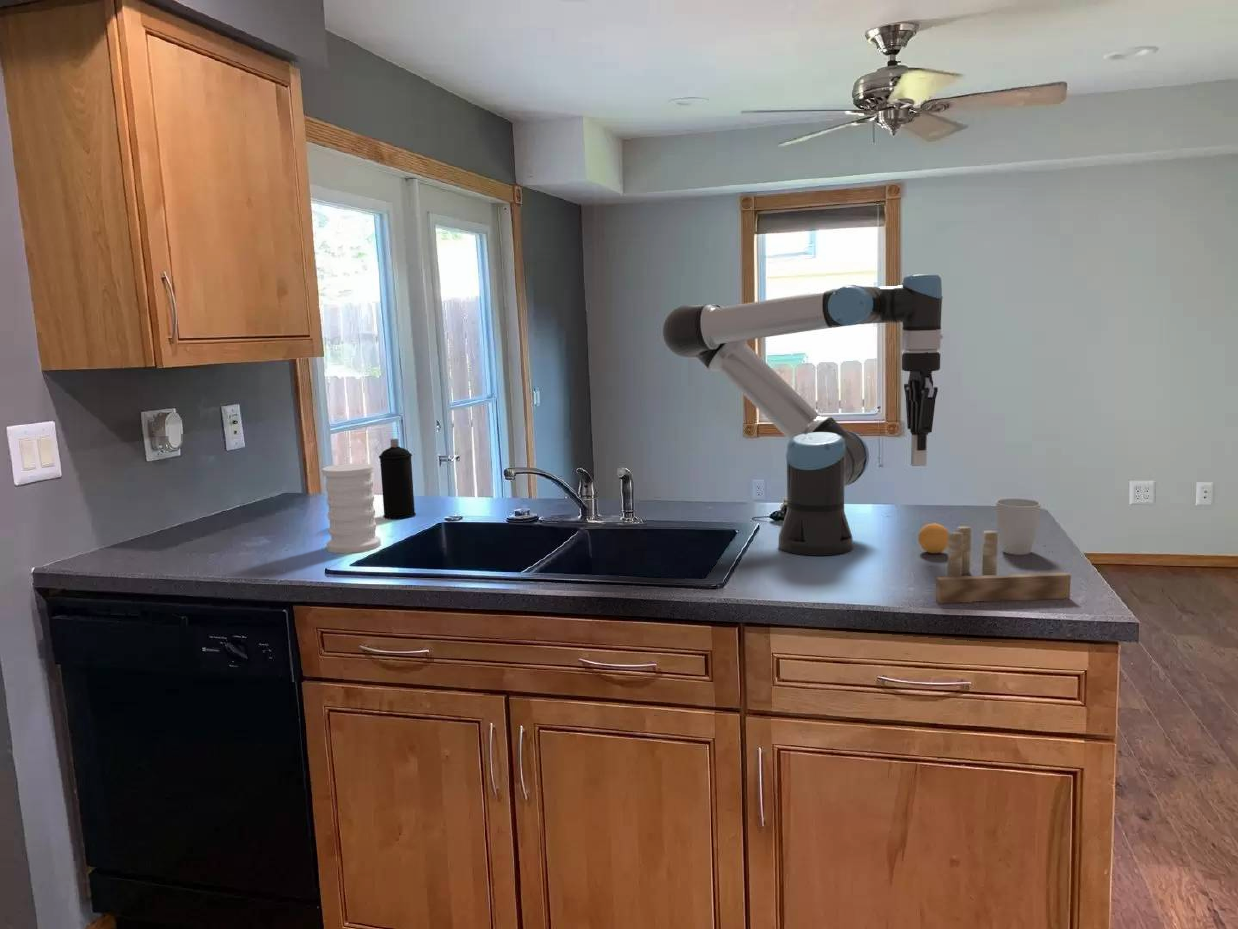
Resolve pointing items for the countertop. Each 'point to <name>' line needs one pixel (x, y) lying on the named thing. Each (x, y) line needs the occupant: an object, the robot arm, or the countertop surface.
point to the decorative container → (350, 508)
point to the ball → (933, 538)
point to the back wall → (1003, 587)
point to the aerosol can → (397, 482)
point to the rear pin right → (954, 554)
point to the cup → (1017, 524)
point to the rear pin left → (990, 553)
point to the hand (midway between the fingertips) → (918, 465)
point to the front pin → (965, 548)
